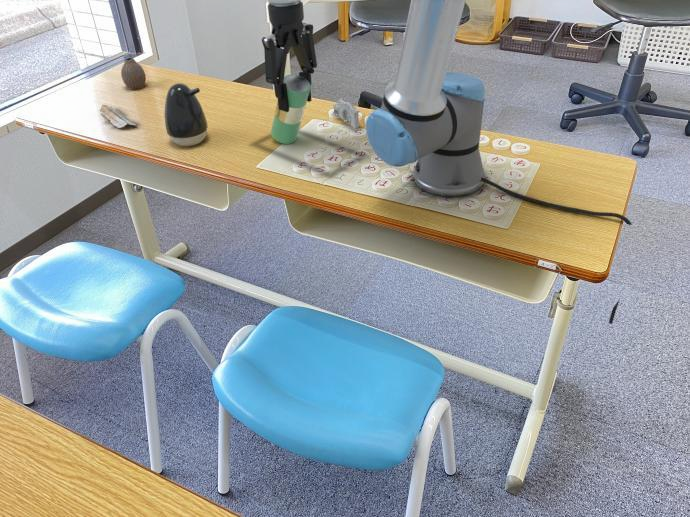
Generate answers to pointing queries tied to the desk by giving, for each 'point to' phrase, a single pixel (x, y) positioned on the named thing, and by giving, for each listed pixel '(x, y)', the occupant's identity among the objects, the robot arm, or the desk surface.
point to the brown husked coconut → (133, 74)
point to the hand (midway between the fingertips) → (295, 104)
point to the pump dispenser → (184, 116)
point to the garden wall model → (347, 112)
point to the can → (291, 110)
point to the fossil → (115, 116)
